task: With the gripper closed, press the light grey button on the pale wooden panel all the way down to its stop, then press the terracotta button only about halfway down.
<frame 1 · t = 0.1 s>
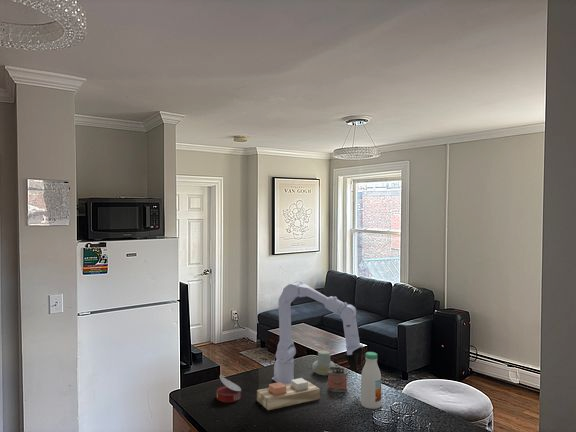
hand: (356, 367, 175), 11 cm above the kitchen island, tool pointing down, fingers open, 7 cm apart
grey button: (299, 384, 170), point 5 cm above the kitchen island, slide at 0.0 cm
milk bottle: (370, 405, 164), on the kitchen island
button panel: (288, 399, 168), on the kitchen island
lighter: (337, 390, 178), on the kitchen island
pale green jug: (323, 373, 197), on the kitchen island
terracotta button: (277, 389, 165), point 5 cm above the kitchen island, slide at 0.0 cm
canned food: (229, 397, 169), on the kitchen island
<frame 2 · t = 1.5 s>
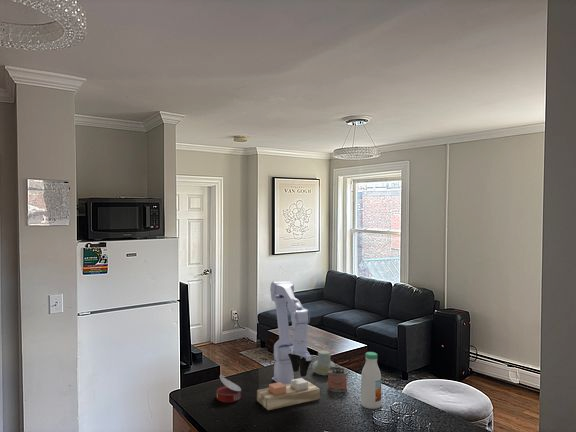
hand: (299, 373, 170), 9 cm above the kitchen island, tool pointing down, fingers open, 5 cm apart
nothing on the kitchen island moved.
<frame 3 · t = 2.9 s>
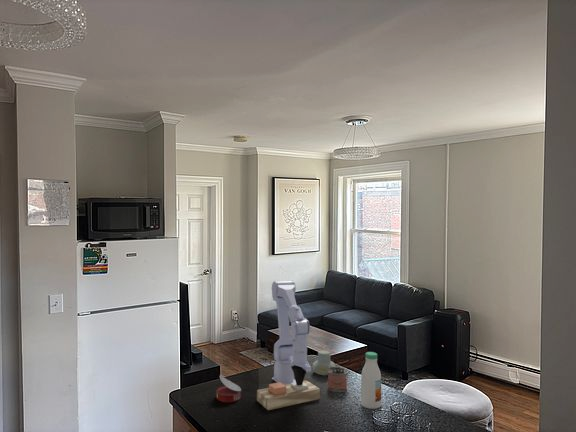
hand: (299, 384, 170), 5 cm above the kitchen island, tool pointing down, fingers closed, pressing on grey button
grey button: (299, 388, 170), point 4 cm above the kitchen island, slide at 1.3 cm, touching gripper
everything else where it was.
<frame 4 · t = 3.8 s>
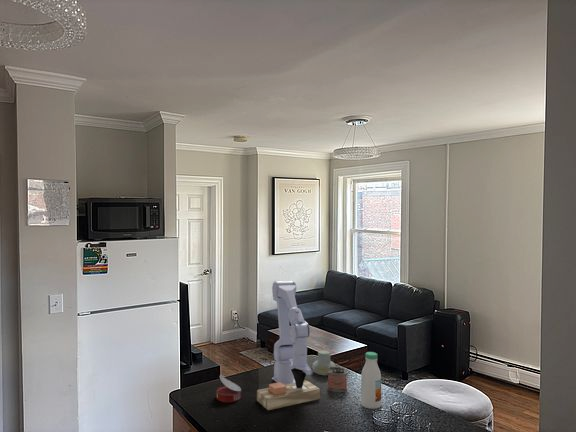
hand: (299, 387, 170), 4 cm above the kitchen island, tool pointing down, fingers closed
grey button: (299, 391, 170), point 2 cm above the kitchen island, slide at 2.6 cm
everything else where it was.
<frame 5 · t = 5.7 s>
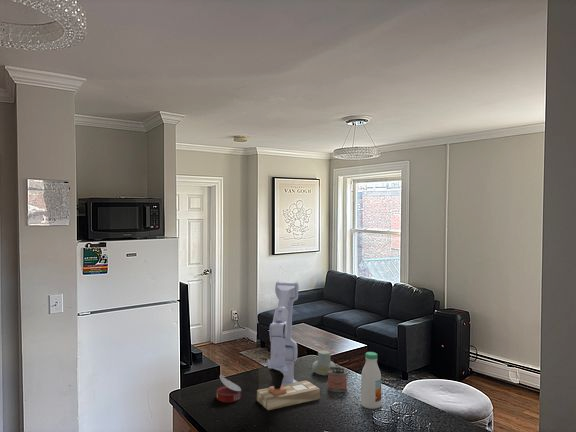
hand: (277, 388, 165), 5 cm above the kitchen island, tool pointing down, fingers closed, pressing on terracotta button
terracotta button: (277, 391, 165), point 4 cm above the kitchen island, slide at 1.1 cm, touching gripper
everything else where it was.
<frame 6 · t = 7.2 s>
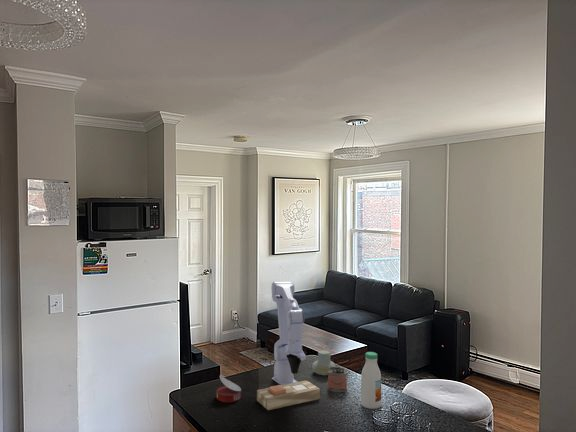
hand: (294, 372, 171), 9 cm above the kitchen island, tool pointing down, fingers closed
terracotta button: (277, 392, 165), point 4 cm above the kitchen island, slide at 1.1 cm
everything else where it was.
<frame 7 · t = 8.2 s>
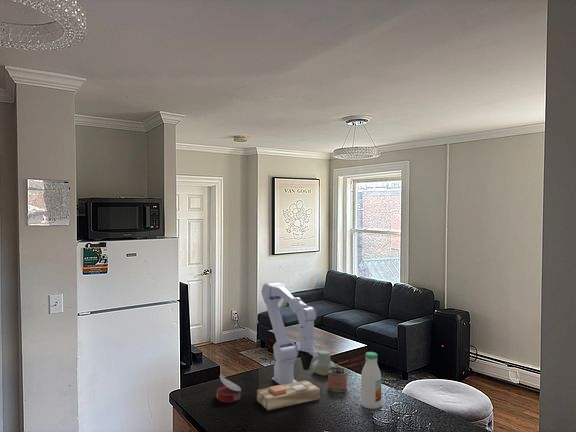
hand: (306, 369, 175), 9 cm above the kitchen island, tool pointing down, fingers closed
nothing on the kitchen island moved.
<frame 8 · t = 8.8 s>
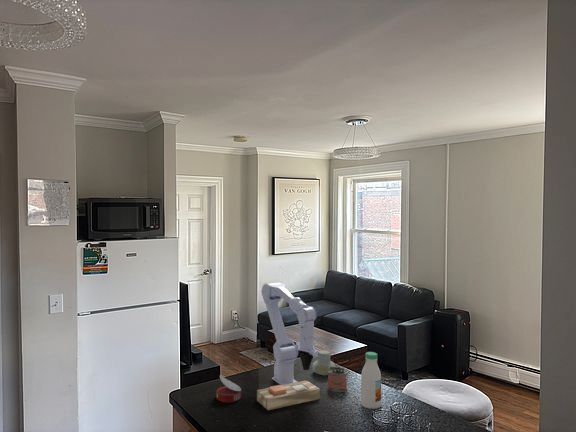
hand: (306, 369, 175), 9 cm above the kitchen island, tool pointing down, fingers closed
nothing on the kitchen island moved.
at the end: grey button slide at 2.6 cm; terracotta button slide at 1.1 cm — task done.
